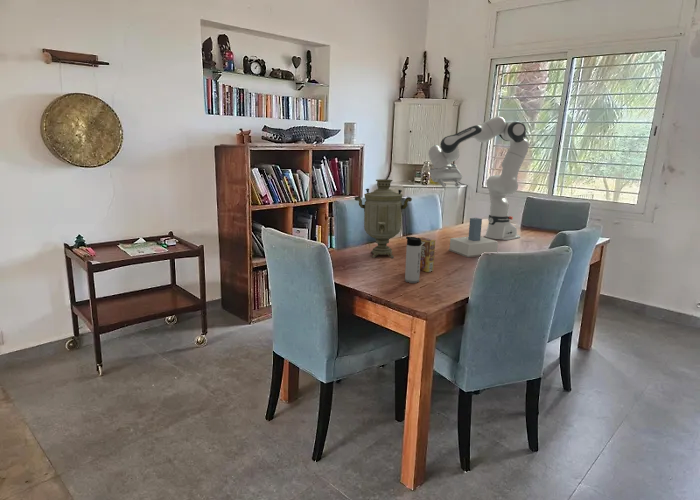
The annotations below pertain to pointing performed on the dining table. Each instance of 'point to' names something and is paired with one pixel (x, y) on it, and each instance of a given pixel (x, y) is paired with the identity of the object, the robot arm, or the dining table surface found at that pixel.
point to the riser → (472, 246)
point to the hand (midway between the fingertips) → (451, 186)
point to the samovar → (382, 215)
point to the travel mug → (413, 259)
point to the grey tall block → (475, 229)
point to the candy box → (427, 254)
